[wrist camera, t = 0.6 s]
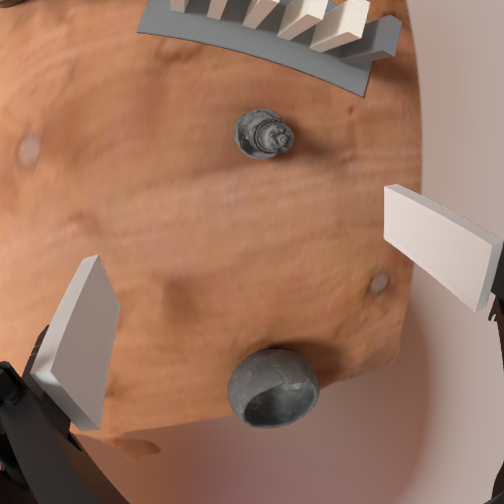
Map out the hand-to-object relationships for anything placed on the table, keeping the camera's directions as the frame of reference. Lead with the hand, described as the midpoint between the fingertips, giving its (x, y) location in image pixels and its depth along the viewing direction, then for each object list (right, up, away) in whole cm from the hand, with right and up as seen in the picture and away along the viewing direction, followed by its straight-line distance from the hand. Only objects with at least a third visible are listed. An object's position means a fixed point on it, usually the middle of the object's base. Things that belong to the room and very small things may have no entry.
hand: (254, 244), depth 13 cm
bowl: (+2, -20, +40) cm, 45 cm away
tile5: (+9, +27, +18) cm, 34 cm away
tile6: (+13, +26, +19) cm, 35 cm away
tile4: (+4, +28, +17) cm, 33 cm away
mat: (+2, +28, +16) cm, 33 cm away
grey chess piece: (0, +14, +23) cm, 27 cm away
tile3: (0, +29, +15) cm, 32 cm away
